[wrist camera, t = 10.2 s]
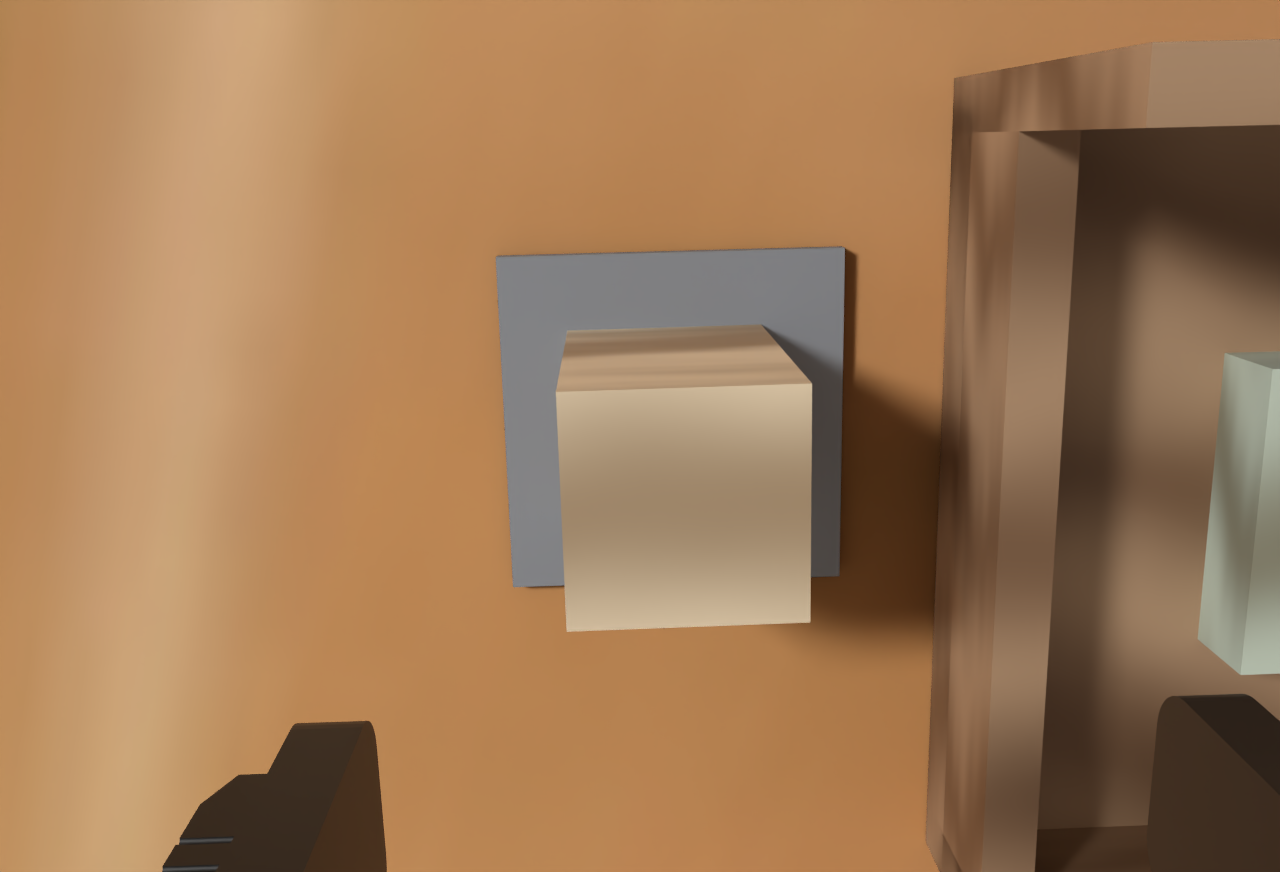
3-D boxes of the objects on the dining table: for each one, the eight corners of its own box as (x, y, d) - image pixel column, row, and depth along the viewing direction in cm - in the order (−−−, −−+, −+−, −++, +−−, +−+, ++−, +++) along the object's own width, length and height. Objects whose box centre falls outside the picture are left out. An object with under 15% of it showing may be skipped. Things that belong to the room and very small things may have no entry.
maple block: (567, 330, 28) (555, 391, 21) (760, 324, 28) (812, 383, 21) (575, 515, 29) (566, 631, 22) (761, 509, 29) (810, 622, 22)
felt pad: (497, 255, 28) (495, 257, 27) (841, 246, 28) (844, 247, 27) (514, 581, 29) (513, 587, 29) (836, 570, 30) (839, 576, 29)
